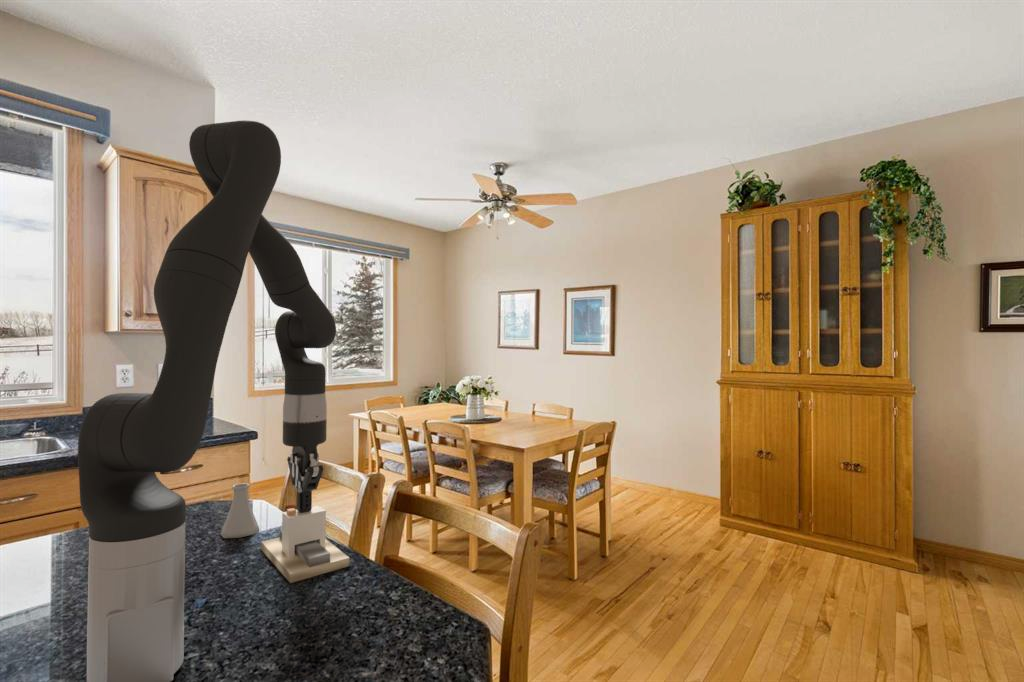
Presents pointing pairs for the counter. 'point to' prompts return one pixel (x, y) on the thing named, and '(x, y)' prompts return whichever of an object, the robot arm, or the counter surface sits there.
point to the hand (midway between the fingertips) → (304, 511)
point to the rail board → (297, 565)
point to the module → (302, 528)
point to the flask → (240, 515)
